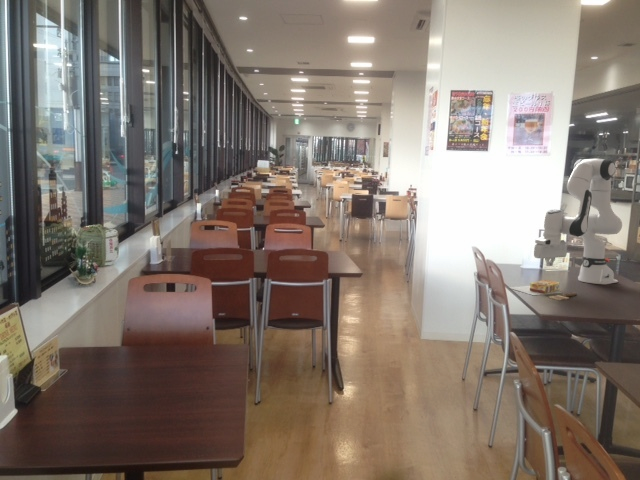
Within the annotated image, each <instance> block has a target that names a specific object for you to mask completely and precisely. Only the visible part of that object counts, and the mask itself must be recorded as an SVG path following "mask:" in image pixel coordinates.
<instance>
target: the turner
mask: <svg viewBox="0 0 640 480" xmlns="http://www.w3.org/2000/svg"><path fill="white" fill-rule="evenodd" d="M577 295H578V293H577V292H576V291H575V292H570V293H564V294H562V295H561V294H557V295H552V296H551V295H550V296H548V298H549V299H551V300H556V301H564V300H569V299H570V297H573V296H577Z"/></svg>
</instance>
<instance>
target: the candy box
mask: <svg viewBox="0 0 640 480" xmlns="http://www.w3.org/2000/svg"><path fill="white" fill-rule="evenodd" d="M560 285H561V283H560V282H559V281H553V280H547V279H543V280H539V281H534V282H531V283H530V284H529V286H530V291H535V292H540V293H549V292H553V291H559V290H560Z"/></svg>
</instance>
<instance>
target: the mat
mask: <svg viewBox="0 0 640 480" xmlns="http://www.w3.org/2000/svg"><path fill="white" fill-rule="evenodd" d="M508 289H511V290H514V291H517V292H521V293H524V294H527V295H531V296H543V295H554V294H562V293H563V292H562V291H559V290H556V291H553V292H549V293H540V292H535V291H530V285H522V286H520V285H519V286H509V287H508Z"/></svg>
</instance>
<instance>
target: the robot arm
mask: <svg viewBox="0 0 640 480" xmlns="http://www.w3.org/2000/svg"><path fill="white" fill-rule="evenodd" d="M615 173H616V164H615V162H614V161H613V160H612V159H609V158H608V159H607V158H605V159H603V158H597V157H596V158H580V159H577V160H576V161H575V163H574V165H573V170H572V172H571V173H570V177H569V178H568V181H567V184H566V189H567V192H568V193H569V195H570V196H571V197H573V198H575V199H576V200H577V201H579V202H580V203H579V207H578V213H577V215H575V216H568V215H567V216H566V215H565V214H563V213H562V210H560V209H549V210H548V211H546V214H545V217H544V223H543V224H544V225H543V228H544V230H543V234H542V235H543V236H540V237H538V238H536V239H535V241H534V242H535V245H534V247H533V248H534V249H533V256H534V258H536V259H544V260H545V265H546V267H553V266H554V262H555V261H556V258H566V257H567V253H568V252H567V250H568V248H567V242H566V240H564V239H562V235H567V236H568V235H570V236H573V237H578V238H579V237H581V238H582V241H583V255H582V258H581V262H582V264H581V265H580V269H579V274H578V276H577V280H578V281H579V282H584V283H586V284H587V283H588V284H597V285H610V284H614V283H615V284H616V283H619V281H618V280H617V279H615V278H614V277H615V274H614V271H613V270H612V268H610V267H609V266H608V264H607V263H609V262H610V261H611V260H610V258H605V257H606V256H605V254H606V244H605V243H604V242H603V241H602V240H600V239H598V238H597V237H596V234H599V235H617V234H619V233H620V231H621V230H622V228H623V222H622V220H621V218H620V217H619V216H617V215H616V213H614V211H613V208H612V205H611V196H612V195H611V193H612V177H613V176H614V174H615ZM591 208H594V209H595V210H597V211H598V213H597V214H595V213H590V210H591Z"/></svg>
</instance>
